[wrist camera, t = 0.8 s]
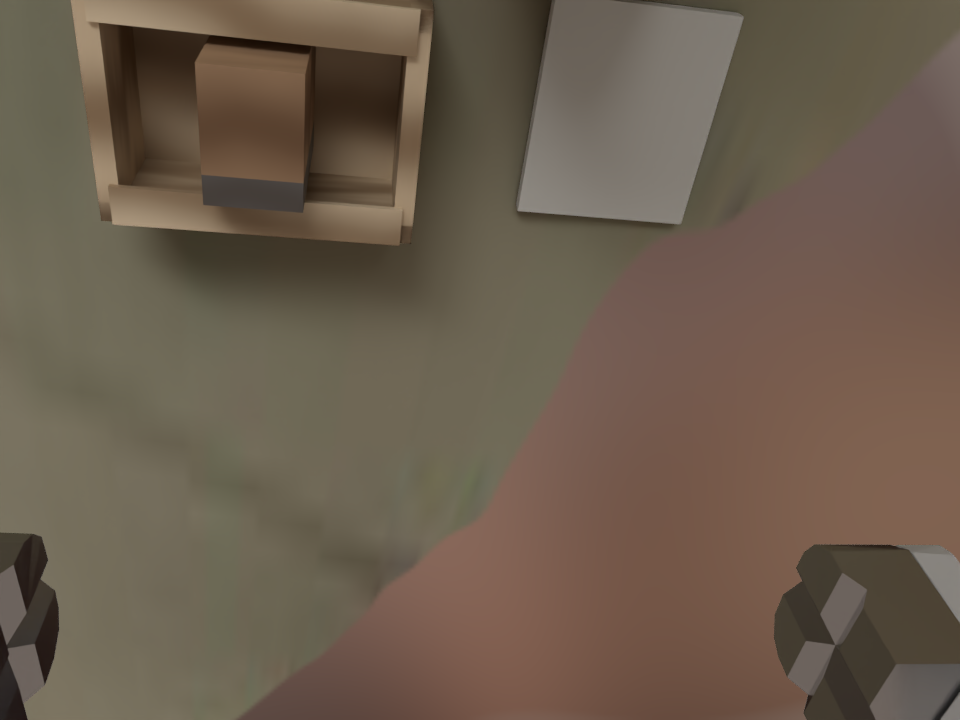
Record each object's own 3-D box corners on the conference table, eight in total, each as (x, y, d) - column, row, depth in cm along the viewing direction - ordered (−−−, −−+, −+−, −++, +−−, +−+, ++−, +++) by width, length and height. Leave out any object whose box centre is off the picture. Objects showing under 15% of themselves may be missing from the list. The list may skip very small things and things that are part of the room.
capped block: (223, 11, 42) (194, 62, 35) (316, 22, 42) (305, 74, 36) (228, 138, 45) (203, 205, 39) (313, 145, 46) (302, 212, 40)
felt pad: (553, -11, 43) (556, -7, 42) (738, 12, 45) (743, 16, 44) (515, 204, 50) (517, 210, 49) (677, 218, 52) (680, 224, 51)
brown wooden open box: (104, -62, 40) (64, -32, 35) (427, -22, 42) (434, 12, 37) (130, 169, 46) (99, 223, 41) (407, 192, 49) (411, 246, 44)
